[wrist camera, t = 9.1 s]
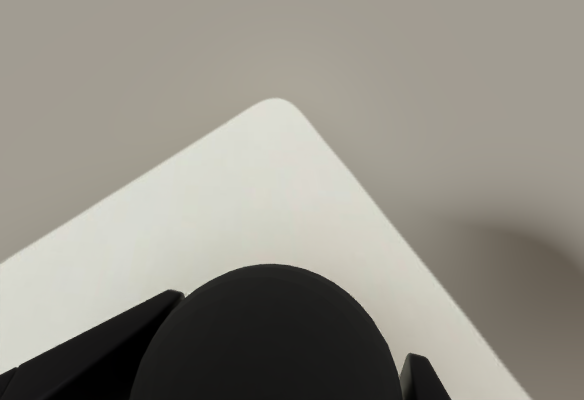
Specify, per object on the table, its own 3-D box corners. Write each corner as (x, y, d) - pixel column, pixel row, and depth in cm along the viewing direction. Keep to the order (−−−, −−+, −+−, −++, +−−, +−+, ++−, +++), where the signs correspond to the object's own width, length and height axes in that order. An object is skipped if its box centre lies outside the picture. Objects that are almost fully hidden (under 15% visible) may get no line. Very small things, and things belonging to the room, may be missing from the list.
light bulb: (399, 347, 14) (527, 412, 4) (314, 476, 13) (245, 922, 3) (291, 262, 16) (220, 180, 6) (209, 368, 14) (-27, 460, 5)
